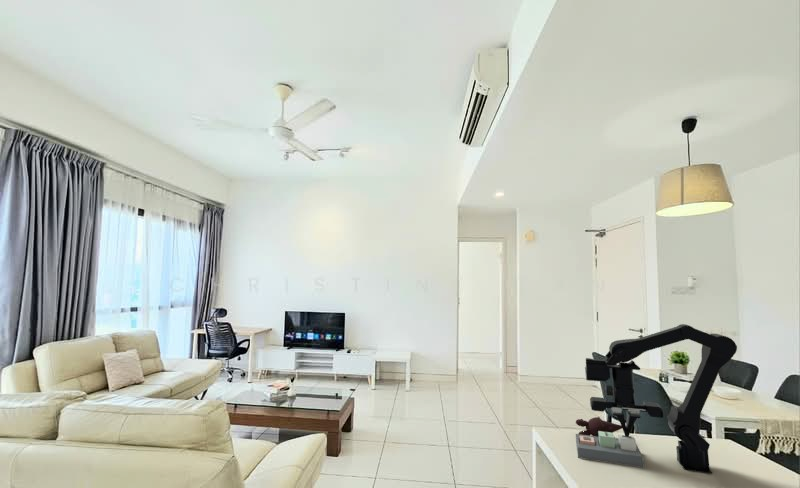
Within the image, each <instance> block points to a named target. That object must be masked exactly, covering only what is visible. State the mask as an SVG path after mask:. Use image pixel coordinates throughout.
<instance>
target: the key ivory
mask: <svg viewBox="0 0 800 488" xmlns="http://www.w3.org/2000/svg"><path fill="white" fill-rule="evenodd" d="M617 437H618V439H619V448H620V449H623V450H630V451H636V444H637V443H636V441H637V440H636V438H635V437H634V435H633V434H629V436H628V437H627V436H625V434H624V433H617Z"/></svg>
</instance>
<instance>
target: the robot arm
mask: <svg viewBox="0 0 800 488" xmlns="http://www.w3.org/2000/svg"><path fill="white" fill-rule="evenodd" d="M686 340H690V341H692V342H695V343H697V344H700V345H702V346H701V361H700V364H699V365H698V367H697V370H696V372H695V375H693V376H694V377H693V378H692V381H691V384H690V386H689V388H688V391H687V392H686V394H685V397H684V399H683V402H682V403H681V404H680V405H679V406H677V407H676V406H674V405H671V407H670V412H669V413H668V414H667V415H666V418H667V420H668V421H667V423H668V426H669V429H671V431H672V432H673V434H674V435H675V436H676V437H677V438H678V439H679V440H677V444H678V445H676V447H675V448H676V460H677V462H678V463H679V464H680V465H681V468H683V469H684V470H685V471H692V472H699V473H705V474H713V471H712V470H711V469H710V459H709V448H710V446H711V445H710V443H709V442H708V441H707V440H706V439H705V438H704V437H703V436H702V434H700V430H701V425H702V424H701V413H702V411H703V409H704V406H705V404H706V402H707V400H708V398H709V396H710V392H711V391H712V388H713V386H714V383H715V382H716V380H717V377H718V375H719V373H720V370H722V368H723V367H725V365H726V364H728V363H729V362H730V361H731V360H732V358H733V357H734V356H735V354H736V352H738V351H737V350H738V346H737V344H736V342H735V341H734V340H733V339H732V338H730V337H729V336H727V335H726V336H725V335H722V334H719V333H707V332H704V331H702V330H699V329H697V328H695V327H693V326H691V325H690V324H689V325H688V324H683V323H681V324H678V325H677V326H674V327H671V328H668V329H667V328H666V329H664V330H661V331H657V332H654V333H651V334H648V335H645V336H641V337H638V338H626V339H619V340H614V341H612V342H611V343H610V344H609V349H608V352H607V353H606V355H604V357H603V359H599V358H598V359H597V358H596V359H595V358H590V357H586V358H585V367H584V369H585V379H586V381H589V382H590V381H591V382H604V383H606V382H607V381H609V380H611V379H612V381H611V382H612V385H606V384H605V386H604V388H605V396H606V397H611V399H612V401H605V398H604V397H601V396H591V397H590V398H589V404H590V410H592V411H593V412H600V413H601V412H602V413H603V412H605V411H606V410H607V409H610V412H611V415H612V416H615V417H617V419H618V421H619V423H620V425H621V426H622V429H621V430H623V434H625V436H627V437H628V436H629V435H631V431H632V429H633V426H634V425H635V422H636V421H637V419H641V417H642V416H641V415H640V413H641V412H643V413H647V414H648V415H649V416H650V417H651V418H660V419H662V418H664V412H663V411H664V410H663V408H662V407H661V406H660V405H659V403H657V402H652V401H643V402H642V404H636V396H635V385H634V384H635V383H634V370H635V371H640V370H641V367H640V366H639V365H637V364H636V362H635V361H634V359H636V358H637V357H638V358H639V356H641V355H642V354H643V353H646V352H648V351H652V350H654V349H658V348H663V347H665V346H668V345H672V344H676V343H679V342H682V341H686ZM610 369H611V370H610ZM623 411H625V413H626V414H625V415H626V419H625V415H624V412H623Z"/></svg>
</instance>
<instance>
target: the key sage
mask: <svg viewBox="0 0 800 488" xmlns="http://www.w3.org/2000/svg"><path fill="white" fill-rule="evenodd" d="M598 435H599V445H600V446H601V447H608V448H615V439H616V438H615V435H614V432H613V433H610V432H602V431H598Z"/></svg>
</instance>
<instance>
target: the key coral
mask: <svg viewBox="0 0 800 488" xmlns="http://www.w3.org/2000/svg"><path fill="white" fill-rule="evenodd" d="M580 444H587V445H594V446H595V442H594V438H593V437H587V436H580Z"/></svg>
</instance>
